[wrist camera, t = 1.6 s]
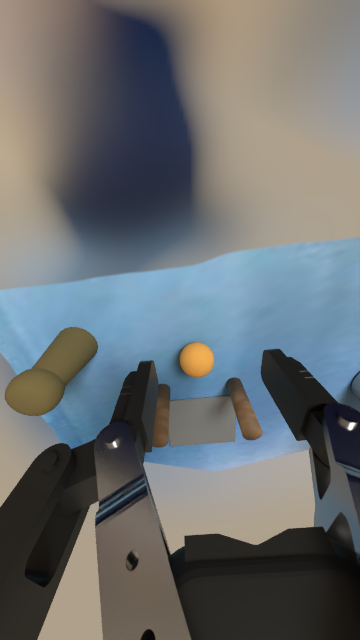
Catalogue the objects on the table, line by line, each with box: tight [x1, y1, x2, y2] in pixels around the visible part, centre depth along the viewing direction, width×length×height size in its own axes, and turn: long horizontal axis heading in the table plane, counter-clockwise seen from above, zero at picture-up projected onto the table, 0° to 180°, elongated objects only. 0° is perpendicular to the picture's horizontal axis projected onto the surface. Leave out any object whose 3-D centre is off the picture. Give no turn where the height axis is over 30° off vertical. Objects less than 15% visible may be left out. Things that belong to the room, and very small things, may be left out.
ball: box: [180, 342, 214, 377], centre depth 27 cm, size 5×5×5 cm
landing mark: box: [168, 396, 236, 446], centre depth 37 cm, size 14×14×1 cm
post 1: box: [152, 384, 170, 447], centre depth 29 cm, size 3×3×9 cm
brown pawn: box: [5, 327, 98, 416], centre depth 23 cm, size 6×6×11 cm
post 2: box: [226, 378, 262, 440], centre depth 28 cm, size 3×3×9 cm
